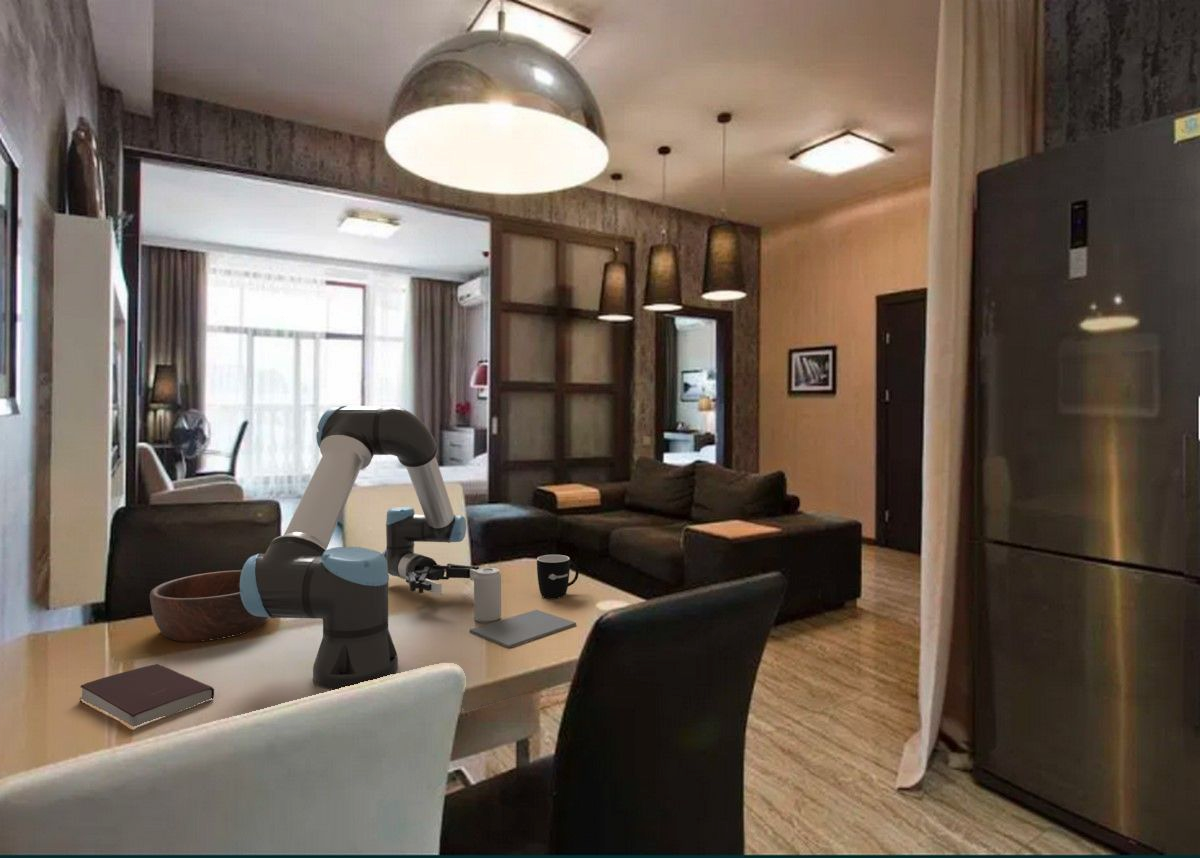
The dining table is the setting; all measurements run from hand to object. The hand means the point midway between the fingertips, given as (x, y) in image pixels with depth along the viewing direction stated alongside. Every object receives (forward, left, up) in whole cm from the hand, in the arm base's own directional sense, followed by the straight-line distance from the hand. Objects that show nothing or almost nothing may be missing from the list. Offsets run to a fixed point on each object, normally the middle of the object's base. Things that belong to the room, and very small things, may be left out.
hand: (464, 584), depth 159 cm
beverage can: (0, -10, -7) cm, 12 cm away
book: (-66, -2, -7) cm, 67 cm away
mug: (+26, -7, -7) cm, 28 cm away
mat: (+2, -21, -7) cm, 22 cm away
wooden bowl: (-46, +31, -7) cm, 56 cm away
